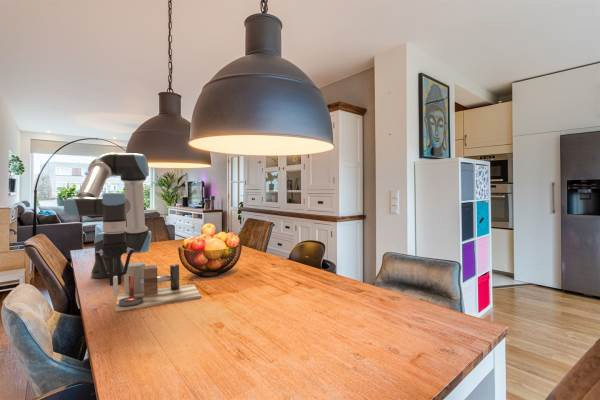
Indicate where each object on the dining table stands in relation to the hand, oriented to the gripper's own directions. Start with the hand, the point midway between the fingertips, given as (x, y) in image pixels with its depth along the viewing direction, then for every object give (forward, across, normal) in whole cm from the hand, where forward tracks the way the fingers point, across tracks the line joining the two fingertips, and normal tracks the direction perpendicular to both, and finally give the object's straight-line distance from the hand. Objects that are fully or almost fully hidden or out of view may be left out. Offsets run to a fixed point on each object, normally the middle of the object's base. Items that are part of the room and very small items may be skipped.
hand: (115, 293), depth 117 cm
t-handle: (+3, +16, +6) cm, 17 cm away
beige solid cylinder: (+5, +6, +15) cm, 17 cm away
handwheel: (+3, +5, -3) cm, 7 cm away
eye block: (+4, +15, +1) cm, 16 cm away
